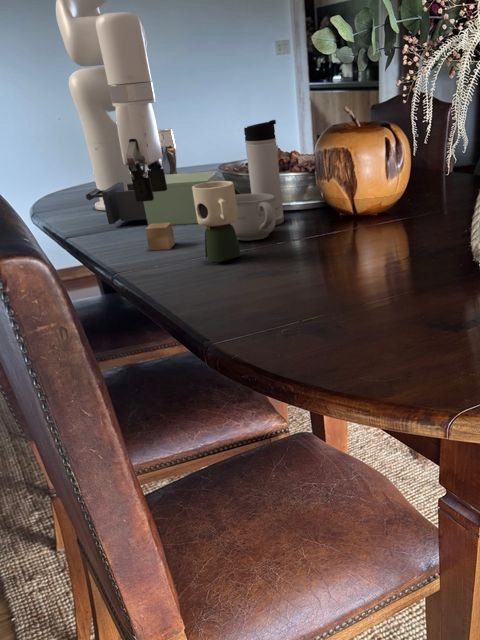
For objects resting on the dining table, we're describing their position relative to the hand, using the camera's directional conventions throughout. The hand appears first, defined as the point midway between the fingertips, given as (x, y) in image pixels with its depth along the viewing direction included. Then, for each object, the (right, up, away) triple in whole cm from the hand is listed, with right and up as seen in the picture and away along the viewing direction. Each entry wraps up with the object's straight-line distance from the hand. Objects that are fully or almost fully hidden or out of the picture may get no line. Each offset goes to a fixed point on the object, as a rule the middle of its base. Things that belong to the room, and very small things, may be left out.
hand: (152, 195), depth 123 cm
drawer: (-11, +5, +28) cm, 30 cm away
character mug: (+15, -14, -6) cm, 21 cm away
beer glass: (-12, +27, +68) cm, 74 cm away
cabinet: (+1, +5, +27) cm, 28 cm away
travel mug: (+21, 0, +16) cm, 27 cm away
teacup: (+19, -7, +5) cm, 21 cm away
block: (+1, -8, +5) cm, 10 cm away
